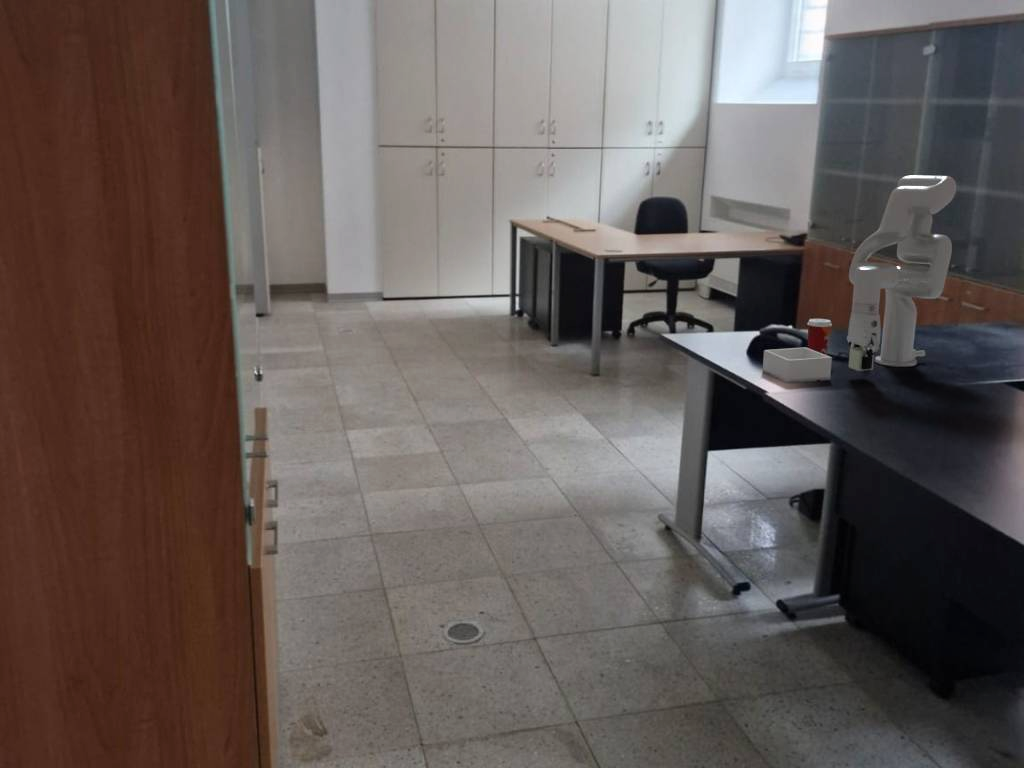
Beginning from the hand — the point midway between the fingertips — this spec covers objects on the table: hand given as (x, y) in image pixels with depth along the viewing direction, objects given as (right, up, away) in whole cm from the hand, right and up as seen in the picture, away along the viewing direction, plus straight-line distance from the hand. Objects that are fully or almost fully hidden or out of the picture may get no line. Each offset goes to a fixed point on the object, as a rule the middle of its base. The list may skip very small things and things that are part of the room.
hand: (860, 365), depth 274 cm
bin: (-18, -3, +5) cm, 19 cm away
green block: (0, -1, 0) cm, 1 cm away
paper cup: (-6, +1, +22) cm, 23 cm away
